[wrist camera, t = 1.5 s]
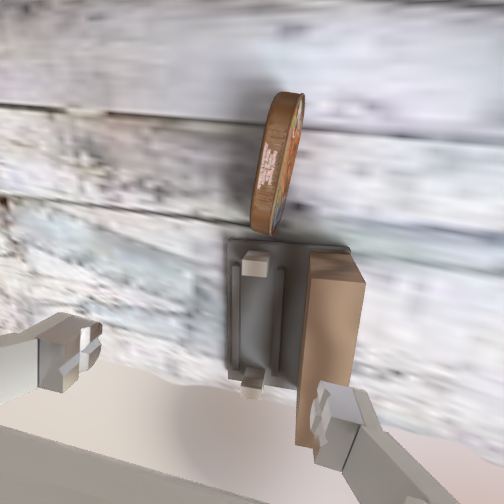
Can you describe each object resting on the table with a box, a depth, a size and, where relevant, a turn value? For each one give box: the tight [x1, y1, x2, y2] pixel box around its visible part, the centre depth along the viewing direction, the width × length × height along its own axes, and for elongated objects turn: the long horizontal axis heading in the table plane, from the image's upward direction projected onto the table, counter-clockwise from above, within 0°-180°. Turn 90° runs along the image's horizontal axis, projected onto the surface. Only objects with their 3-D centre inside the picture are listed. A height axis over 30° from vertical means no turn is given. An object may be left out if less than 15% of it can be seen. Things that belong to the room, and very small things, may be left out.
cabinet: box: [227, 239, 366, 448], centre depth 34 cm, size 16×23×10 cm
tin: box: [250, 92, 305, 236], centre depth 29 cm, size 15×3×8 cm, turn 169°
